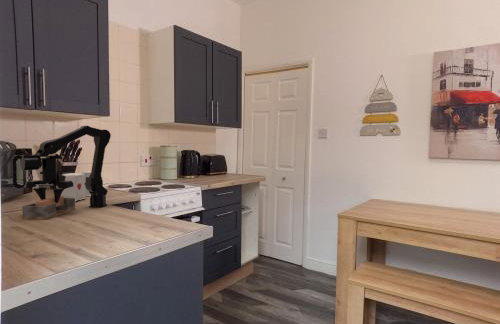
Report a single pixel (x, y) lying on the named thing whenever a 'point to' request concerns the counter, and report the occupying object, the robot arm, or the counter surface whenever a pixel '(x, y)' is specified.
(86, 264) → the counter surface
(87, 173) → the skincare box
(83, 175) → the supplement box
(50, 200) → the rail
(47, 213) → the bracket stand
